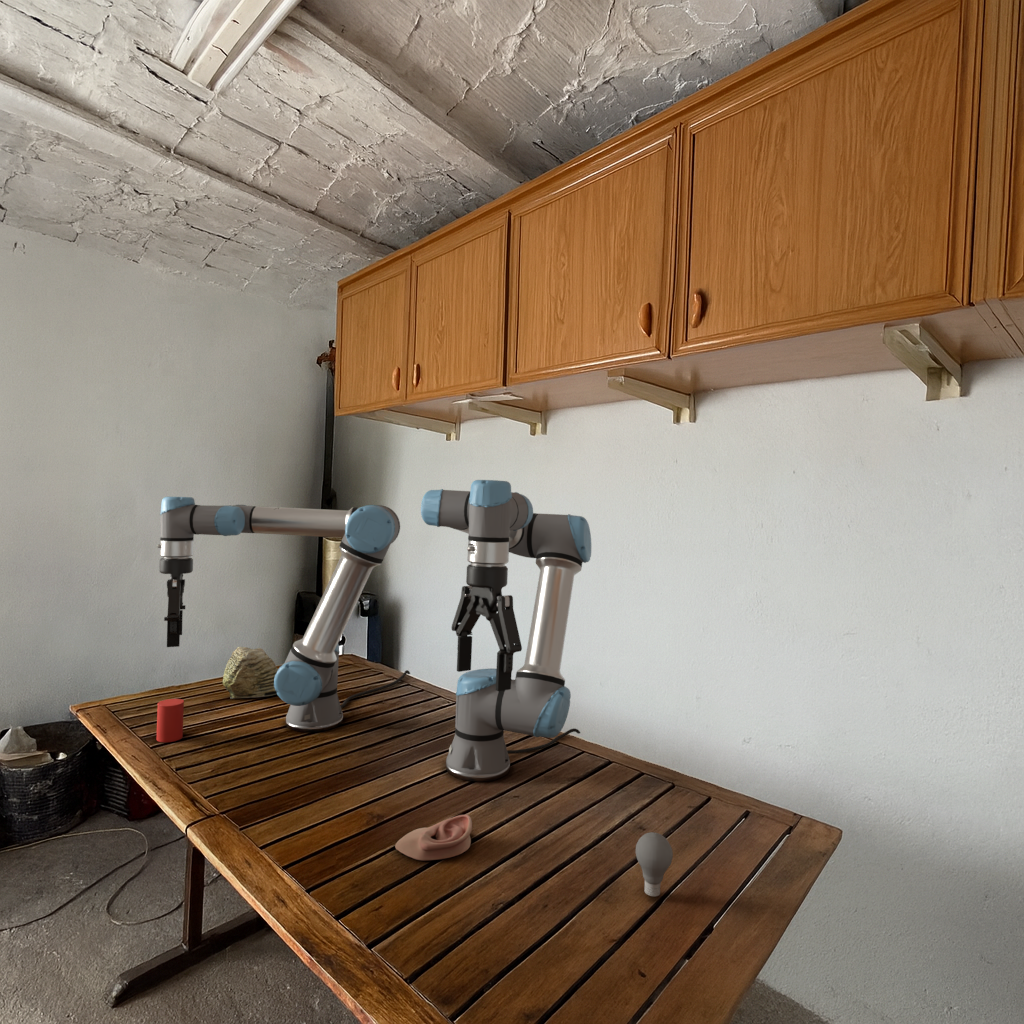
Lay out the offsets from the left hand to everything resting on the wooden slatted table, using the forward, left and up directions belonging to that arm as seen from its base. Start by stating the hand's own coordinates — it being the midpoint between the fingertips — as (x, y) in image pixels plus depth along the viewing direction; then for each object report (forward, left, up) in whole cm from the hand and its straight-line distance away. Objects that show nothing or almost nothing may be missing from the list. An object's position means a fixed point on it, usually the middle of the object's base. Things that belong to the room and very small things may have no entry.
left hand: (174, 640), depth 161 cm
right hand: (-15, +91, +6) cm, 92 cm away
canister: (0, 0, -25) cm, 25 cm away
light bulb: (-25, +121, -25) cm, 126 cm away
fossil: (-32, -18, -25) cm, 45 cm away
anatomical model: (-11, +84, -25) cm, 89 cm away
